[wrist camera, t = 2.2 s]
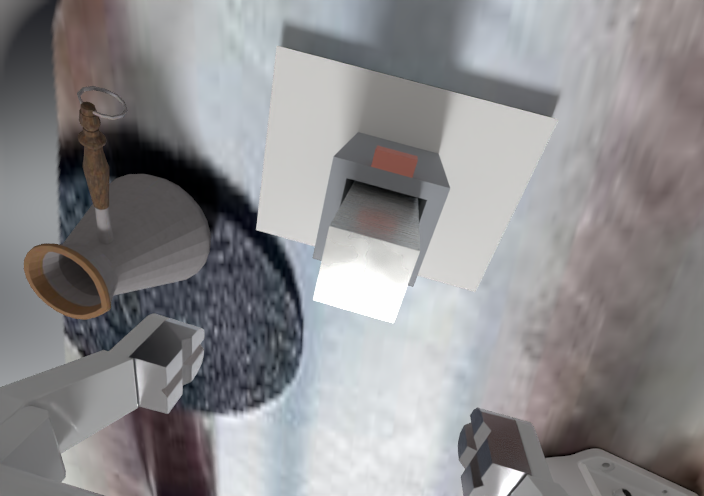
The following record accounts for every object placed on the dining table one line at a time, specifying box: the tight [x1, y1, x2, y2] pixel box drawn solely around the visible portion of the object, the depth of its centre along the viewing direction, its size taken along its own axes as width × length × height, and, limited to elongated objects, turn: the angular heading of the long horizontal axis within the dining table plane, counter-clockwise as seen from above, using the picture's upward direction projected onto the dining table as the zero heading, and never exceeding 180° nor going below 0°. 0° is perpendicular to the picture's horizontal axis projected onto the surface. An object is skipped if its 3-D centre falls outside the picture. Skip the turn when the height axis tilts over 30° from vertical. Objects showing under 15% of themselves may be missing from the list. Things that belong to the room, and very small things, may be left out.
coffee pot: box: [24, 86, 211, 319], centre depth 28 cm, size 21×12×15 cm, turn 146°
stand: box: [256, 46, 558, 292], centre depth 26 cm, size 22×16×12 cm
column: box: [313, 180, 420, 323], centre depth 23 cm, size 4×4×16 cm
